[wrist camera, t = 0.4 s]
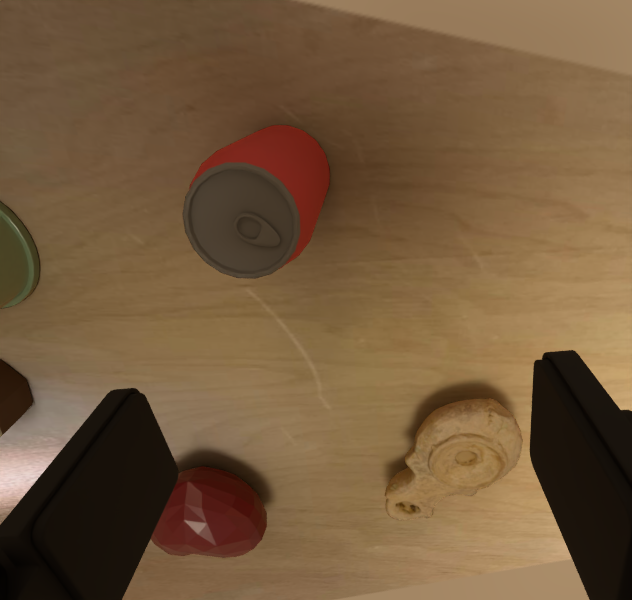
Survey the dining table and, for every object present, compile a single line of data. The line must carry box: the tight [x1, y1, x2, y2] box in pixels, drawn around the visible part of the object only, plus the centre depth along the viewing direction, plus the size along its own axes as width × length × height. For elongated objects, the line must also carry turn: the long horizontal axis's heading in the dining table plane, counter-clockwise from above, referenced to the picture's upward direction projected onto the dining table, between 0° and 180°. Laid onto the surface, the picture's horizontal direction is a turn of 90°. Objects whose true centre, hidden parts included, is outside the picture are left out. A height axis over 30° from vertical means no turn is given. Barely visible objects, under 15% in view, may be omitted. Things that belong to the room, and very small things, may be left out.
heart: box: [150, 466, 267, 558], centre depth 43 cm, size 12×8×10 cm
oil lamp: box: [385, 398, 523, 520], centre depth 38 cm, size 11×14×5 cm
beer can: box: [183, 125, 330, 279], centre depth 25 cm, size 7×7×12 cm
